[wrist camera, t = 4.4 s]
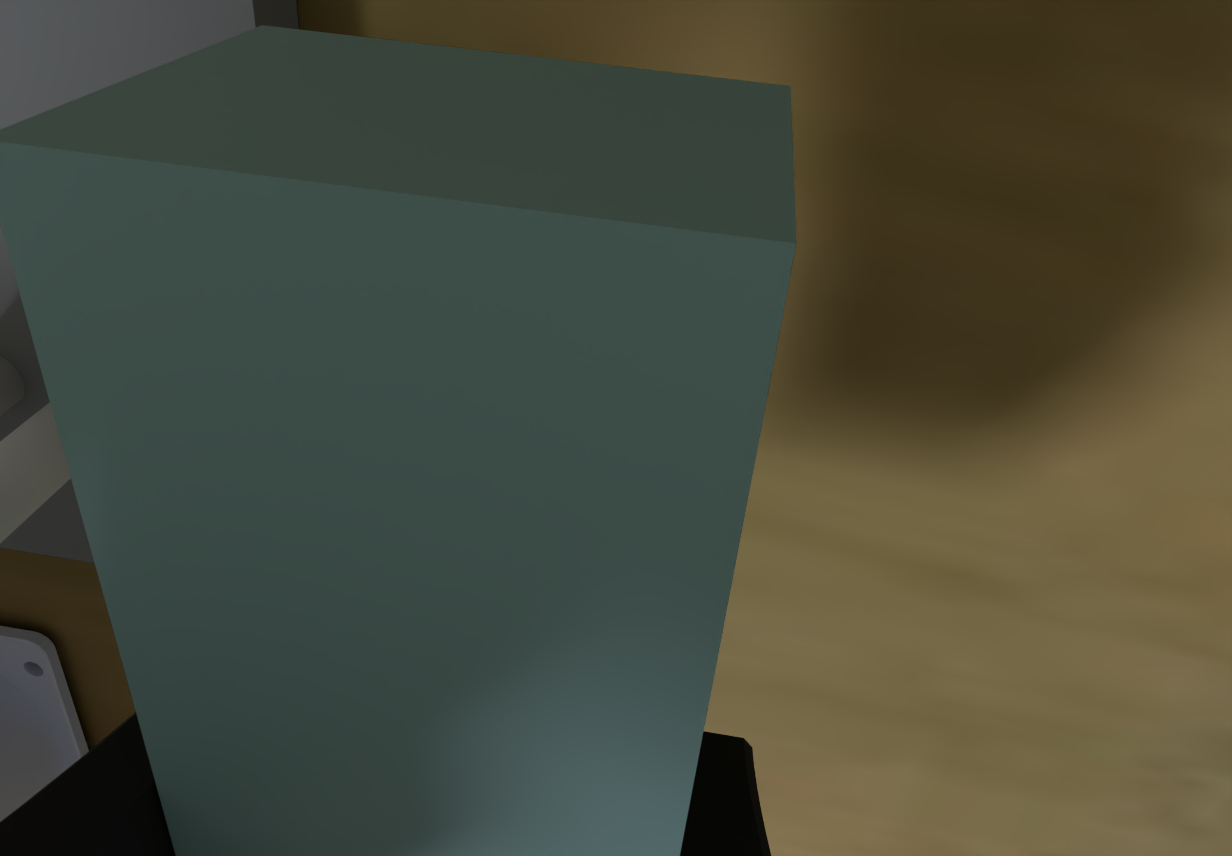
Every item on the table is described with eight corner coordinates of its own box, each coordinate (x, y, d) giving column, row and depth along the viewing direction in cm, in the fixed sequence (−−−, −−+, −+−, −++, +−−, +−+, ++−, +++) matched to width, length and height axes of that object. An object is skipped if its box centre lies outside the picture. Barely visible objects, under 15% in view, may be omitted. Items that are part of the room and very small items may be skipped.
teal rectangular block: (636, 987, 15) (602, 1261, 13) (363, 936, 16) (269, 1190, 13) (789, 86, 8) (797, 242, 5) (262, 25, 8) (-23, 138, 5)
